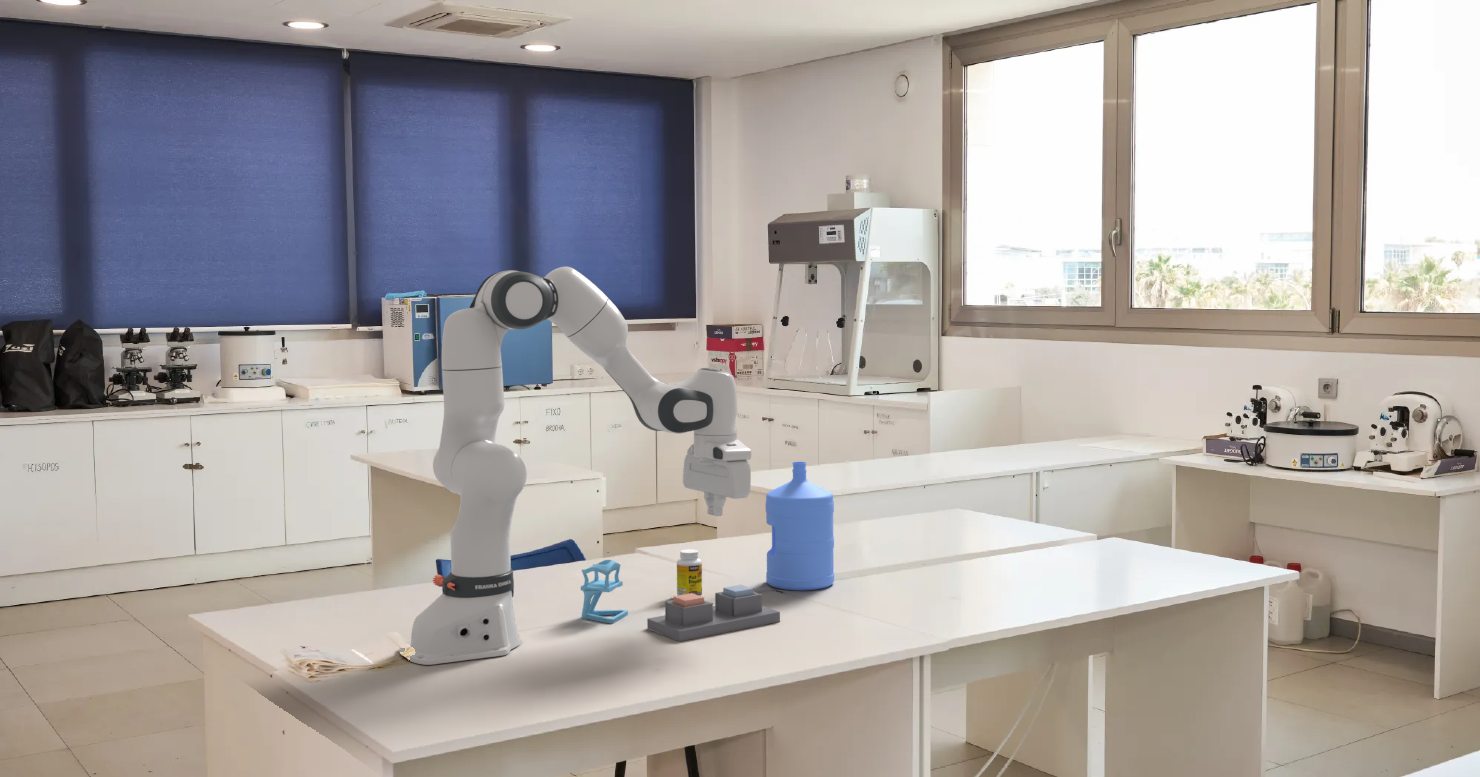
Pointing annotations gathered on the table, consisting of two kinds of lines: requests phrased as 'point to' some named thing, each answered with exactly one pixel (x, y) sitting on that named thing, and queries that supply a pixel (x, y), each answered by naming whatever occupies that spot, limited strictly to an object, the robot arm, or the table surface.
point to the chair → (597, 588)
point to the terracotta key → (688, 600)
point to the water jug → (800, 534)
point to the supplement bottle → (689, 573)
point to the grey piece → (712, 617)
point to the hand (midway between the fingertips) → (714, 515)
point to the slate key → (738, 591)
